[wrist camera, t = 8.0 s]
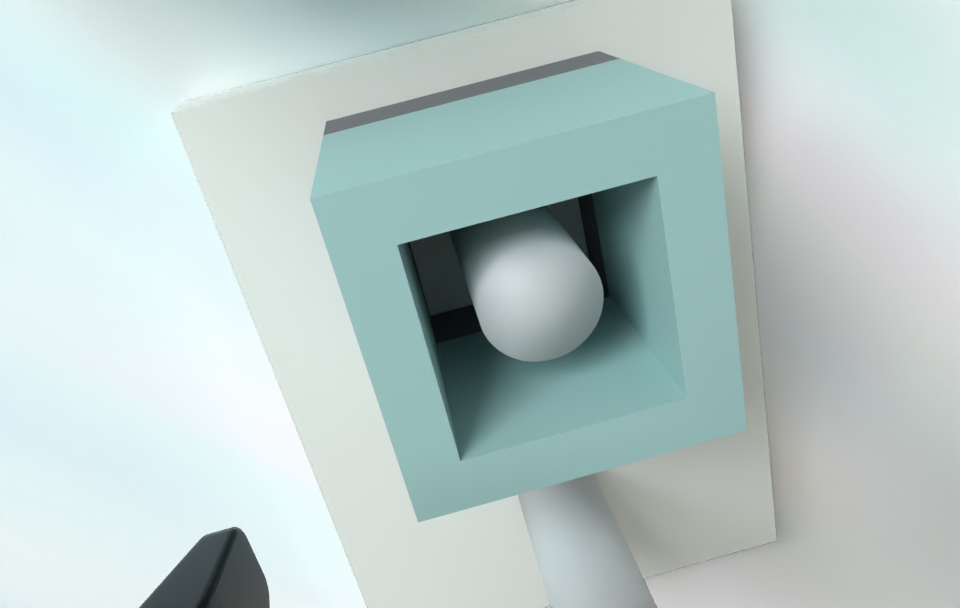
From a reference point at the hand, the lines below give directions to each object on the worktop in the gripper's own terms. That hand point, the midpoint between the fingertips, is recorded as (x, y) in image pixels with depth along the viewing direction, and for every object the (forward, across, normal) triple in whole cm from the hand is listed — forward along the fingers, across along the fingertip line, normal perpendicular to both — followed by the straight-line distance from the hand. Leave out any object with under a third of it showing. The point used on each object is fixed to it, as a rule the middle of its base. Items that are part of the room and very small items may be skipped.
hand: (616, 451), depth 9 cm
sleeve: (+9, 0, 0) cm, 9 cm away
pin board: (+11, 0, +4) cm, 12 cm away
